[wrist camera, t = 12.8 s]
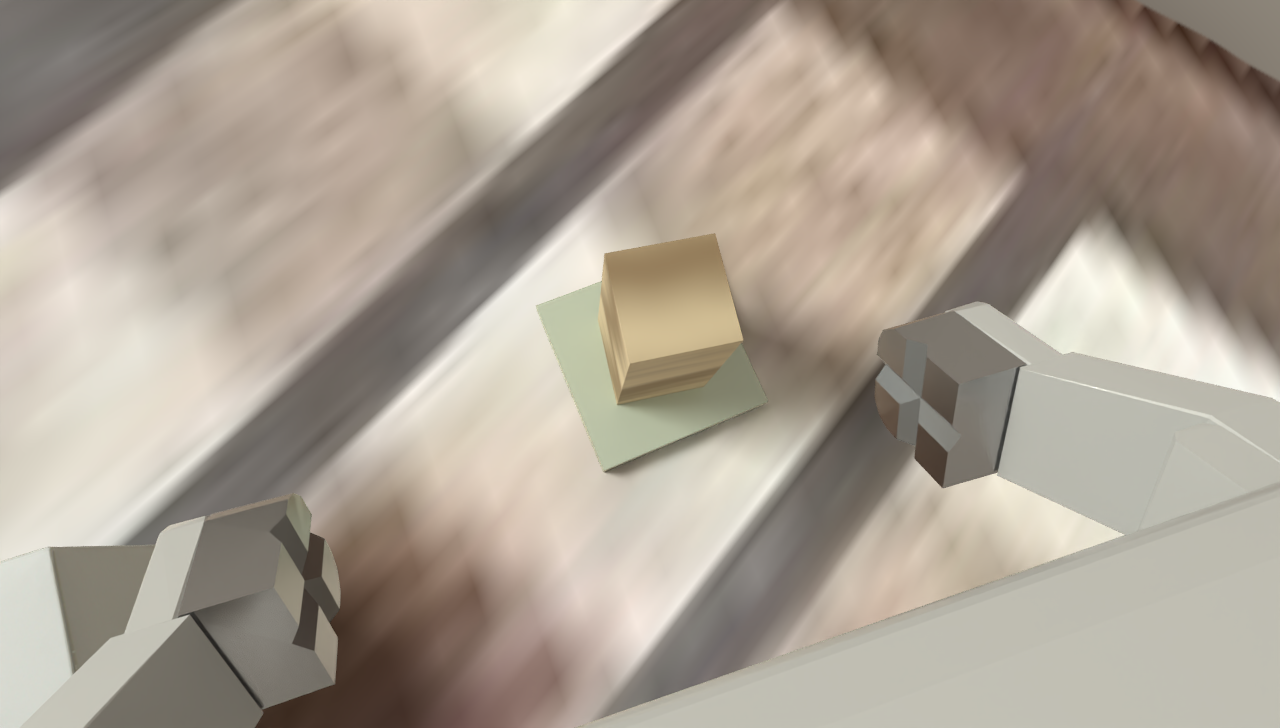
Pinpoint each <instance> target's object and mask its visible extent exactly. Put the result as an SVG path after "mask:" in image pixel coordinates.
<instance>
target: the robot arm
mask: <svg viewBox="0 0 1280 728" xmlns="http://www.w3.org/2000/svg"><path fill="white" fill-rule="evenodd" d="M877 355H878V356H879V357H880V358H881V359H882V361H883V362H884V363H885V364H886V365H885V366H884V368H883V369H882V371H881V372H880V373H879V375H878V376H877V378H876V379H875V401H876V405H877V408H878V412H879V415H880V417H881V419H882V421H883V423H884V424H885V426H886V428H887V429H888V430H889V431H890V432H891V433H892V435H893V436H894V437H895V438H896V439H898V440H901V441H903V442H906V443H909V444H912V445H915V459H916V461H917V462H918V463H919V464H920V465H921V466H922V467H923V468H924V469H925V470H926V471H927V472H928V473H929V474H930V475H931V476H932V477H933V479H934V480H935V481H936V482H937V483H938V484H939V485H940V486H941V487H942V488H946V487H949V486H953V485H956V484H960V483H963V482H966V481H970V480H973V479H977V478H980V477H984V476H987V475H990V474H994V473H997V472H998V474H997V476H1000V477H1002V478H1004V479H1006V480H1008V481H1010V482H1012V483H1015V484H1017V485H1019V486H1021V487H1023V488H1025V489H1028V490H1030V491H1032V492H1034V493H1036V494H1038V495H1040V496H1043V497H1045V498H1047V499H1049V500H1051V501H1053V502H1056V503H1058V504H1060V505H1062V506H1064V507H1066V508H1068V509H1071V510H1073V511H1075V512H1077V513H1079V514H1081V515H1083V516H1086V517H1088V518H1090V519H1092V520H1094V521H1096V522H1099V523H1101V524H1103V525H1105V526H1107V527H1109V528H1111V529H1114V530H1116V531H1118V532H1120V533H1122V534H1124V536H1121V537H1118V538H1116V539H1113V540H1110V541H1107V542H1104V543H1101V544H1098V545H1096V546H1093V547H1090V548H1087V549H1084V550H1081V551H1078V552H1076V553H1073V554H1070V555H1067V556H1064V557H1061V558H1058V559H1055V560H1053V561H1050V562H1047V563H1044V564H1041V565H1038V566H1035V567H1033V568H1030V569H1027V570H1024V571H1021V572H1018V573H1015V574H1013V575H1010V576H1007V577H1004V578H1001V579H998V580H996V581H993V582H990V583H987V584H984V585H981V586H978V587H976V588H973V589H970V590H967V591H964V592H961V593H958V594H956V595H953V596H950V597H947V598H944V599H941V600H938V601H936V602H933V603H930V604H927V605H924V606H921V607H919V608H916V609H913V610H910V611H907V612H904V613H901V614H899V615H896V616H893V617H890V618H887V619H884V620H881V621H879V622H876V623H873V624H870V625H867V626H864V627H861V628H859V629H856V630H853V631H850V632H847V633H844V634H842V635H839V636H836V637H833V638H830V639H827V640H824V641H822V642H819V643H816V644H813V645H810V646H807V647H804V648H801V649H799V650H796V651H793V652H790V653H787V654H784V655H781V656H779V657H776V658H773V659H770V660H767V661H764V662H761V663H759V664H756V665H753V666H750V667H747V668H744V669H741V670H739V671H736V672H733V673H730V674H727V675H724V676H721V677H719V678H716V679H713V680H710V681H707V682H704V683H701V684H699V685H696V686H693V687H690V688H687V689H684V690H681V691H679V692H676V693H673V694H670V695H667V696H664V697H661V698H659V699H656V700H653V701H650V702H647V703H644V704H641V705H639V706H636V707H633V708H630V709H627V710H624V711H621V712H619V713H616V714H613V715H610V716H607V717H604V718H601V719H598V720H596V721H593V722H590V723H587V724H584V725H581V726H578V727H576V728H1280V402H1278V401H1276V400H1274V399H1273V398H1269V397H1265V396H1261V395H1256V394H1252V393H1248V392H1243V391H1239V390H1235V389H1230V388H1226V387H1222V386H1217V385H1213V384H1209V383H1204V382H1200V381H1196V380H1191V379H1187V378H1183V377H1178V376H1174V375H1169V374H1165V373H1161V372H1156V371H1152V370H1148V369H1143V368H1139V367H1135V366H1130V365H1126V364H1122V363H1117V362H1113V361H1109V360H1104V359H1100V358H1096V357H1091V356H1087V355H1083V354H1078V353H1074V352H1071V353H1068V354H1064V355H1062V354H1061V353H1059V352H1058V351H1056V350H1055V349H1054V348H1052V347H1051V346H1049V345H1048V344H1046V343H1045V342H1043V341H1042V340H1040V339H1039V338H1037V337H1036V336H1034V335H1033V334H1031V333H1030V332H1029V331H1027V330H1026V329H1024V328H1023V327H1021V326H1020V325H1018V324H1017V323H1015V322H1014V321H1012V320H1011V319H1009V318H1008V317H1007V316H1005V315H1004V314H1002V313H1001V312H999V311H998V310H996V309H995V308H993V307H992V306H990V305H989V304H986V303H982V302H974V303H971V304H967V305H964V306H961V307H958V308H954V309H951V310H948V311H946V312H945V313H942V314H938V315H934V316H931V317H927V318H924V319H920V320H917V321H913V322H910V323H906V324H903V325H899V326H895V327H892V328H888V329H885V330H883V332H882V334H881V336H880V338H879V341H878V352H877ZM311 517H312V514H311V513H310V511H309V509H308V508H307V506H306V504H305V503H304V501H303V499H302V497H301V496H299V495H296V494H294V493H292V494H288V495H284V496H280V497H276V498H272V499H268V500H265V501H261V502H257V503H253V504H249V505H245V506H241V507H237V508H233V509H229V510H225V511H222V512H218V513H214V514H211V515H210V516H203V517H200V518H196V519H192V520H188V521H185V522H181V523H177V524H174V525H170V526H168V527H167V528H166V529H164V530H163V531H162V532H161V533H160V535H159V537H158V539H157V542H156V545H155V548H154V551H153V554H152V556H151V559H150V562H149V565H148V568H147V571H146V573H145V576H144V579H143V582H142V585H141V588H140V590H139V593H138V596H137V599H136V602H135V605H134V607H133V610H132V613H131V616H130V619H129V622H128V624H127V627H126V630H125V633H124V634H122V635H119V636H116V637H112V638H110V639H109V640H108V641H107V642H106V643H105V644H104V645H103V646H102V647H101V648H100V649H99V650H98V651H97V652H96V653H95V654H94V655H93V656H92V657H91V658H89V659H88V660H87V661H86V662H85V663H84V664H83V665H82V666H81V667H80V668H79V669H78V670H77V671H76V672H75V673H74V674H73V675H72V676H71V677H70V678H69V679H68V680H67V681H66V682H65V683H64V684H63V685H62V686H61V687H60V688H59V689H58V690H57V691H56V692H55V693H54V694H53V695H52V696H51V697H50V698H49V699H48V700H47V701H46V702H45V703H44V704H43V705H42V706H41V707H40V708H39V709H38V710H37V711H36V712H35V713H34V714H33V715H32V716H31V717H30V718H29V719H28V720H27V721H26V722H25V723H24V724H23V725H22V726H21V727H20V728H255V726H256V725H257V723H258V722H259V720H260V718H261V717H262V715H263V711H262V709H265V708H268V707H271V706H274V705H277V704H279V703H282V702H285V701H288V700H291V699H294V698H297V697H299V696H302V695H305V694H308V693H311V692H314V691H317V690H319V689H322V688H325V687H328V686H331V685H334V684H335V675H336V661H337V646H338V637H337V636H336V634H335V632H334V630H333V629H332V627H331V625H330V622H331V620H332V619H333V618H334V616H335V615H336V614H337V612H338V611H339V610H340V584H339V577H338V571H337V567H336V564H335V561H334V558H333V555H332V552H331V550H330V548H329V546H328V544H327V542H326V541H325V539H324V538H321V537H319V536H317V535H315V534H312V533H310V526H311Z"/></svg>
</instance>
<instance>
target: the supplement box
mask: <svg viewBox="0 0 1280 728" xmlns="http://www.w3.org/2000/svg"><path fill="white" fill-rule="evenodd" d="M154 548H155V545H130V546H82V547H46V548H43V549H39V550H36V551H32V552H29V553H26V554H23V555H19V556H16V557H13V558H10V559H7V560H4V561H1V562H0V728H20V727H21V726H22V725H23V724H24V723H25V722H26V721H27V720H28V719H29V718H30V717H31V716H32V715H33V714H34V713H35V712H36V711H37V710H38V709H39V708H40V707H41V706H42V705H43V704H44V703H45V702H46V701H47V700H48V699H49V698H50V697H51V696H52V695H53V694H54V693H55V692H56V691H57V690H58V689H59V688H60V687H61V686H62V685H63V684H64V683H65V682H66V681H67V680H68V679H69V678H70V677H71V676H72V675H73V674H74V673H75V672H76V671H77V670H78V669H79V668H80V667H81V666H82V665H83V664H84V663H85V662H86V661H87V660H88V659H89V658H91V657H92V656H93V655H94V654H95V653H96V652H97V651H98V650H99V649H100V648H101V647H102V646H103V645H104V644H105V643H106V642H107V641H108V640H109V639H110V638H112V637H116V636H119V635H122V634H124V633H125V630H126V627H127V624H128V622H129V619H130V616H131V613H132V610H133V607H134V605H135V602H136V599H137V596H138V593H139V590H140V588H141V585H142V582H143V579H144V576H145V573H146V571H147V568H148V565H149V562H150V559H151V556H152V554H153V551H154Z"/></svg>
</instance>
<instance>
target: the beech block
mask: <svg viewBox="0 0 1280 728" xmlns="http://www.w3.org/2000/svg"><path fill="white" fill-rule="evenodd" d="M598 323H599V327H600V332H601V336H602V341H603V345H604V350H605V354H606V359H607V363H608V368H609V372H610V376H611V381H612V385H613V390H614V394H615V399H616V403H617V405H619V404H624V403H629V402H634V401H638V400H643V399H648V398H653V397H657V396H662V395H667V394H671V393H676V392H681V391H686V390H690V389H695V388H700V387H704V386H705V385H706V384H707V382H708V381H709V380H710V379H711V378H712V377H713V375H714V374H715V373H716V372H717V371H718V370H719V368H720V367H721V366H722V365H723V364H724V363H725V361H726V360H727V359H728V358H729V357H730V356H731V354H732V353H733V352H734V351H735V350H736V349H737V347H738V346H739V345H740V344H741V343H742V342H743V337H742V333H741V329H740V325H739V322H738V318H737V314H736V310H735V306H734V303H733V299H732V295H731V291H730V288H729V284H728V280H727V276H726V273H725V269H724V265H723V261H722V258H721V254H720V250H719V246H718V243H717V239H716V235H715V233H714V234H709V235H704V236H698V237H693V238H687V239H682V240H676V241H671V242H665V243H660V244H654V245H649V246H643V247H638V248H633V249H627V250H622V251H616V252H611V253H605V255H604V264H603V274H602V284H601V293H600V303H599V313H598Z"/></svg>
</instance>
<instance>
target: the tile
mask: <svg viewBox="0 0 1280 728" xmlns="http://www.w3.org/2000/svg"><path fill="white" fill-rule="evenodd" d="M601 284H602V281H601V282H598V283H595V284H593V285H590V286H587V287H585V288H582V289H579V290H577V291H574V292H571V293H569V294H566V295H563V296H561V297H558V298H555V299H553V300H550V301H547V302H545V303H542V304H539V305H537V306H536V308H537V312H538V315H539V317H540V320H541V322H542V324H543V327H544V329H545V332H546V334H547V337H548V339H549V341H550V344H551V346H552V349H553V351H554V354H555V356H556V358H557V361H558V363H559V366H560V368H561V371H562V373H563V375H564V378H565V380H566V383H567V385H568V388H569V390H570V392H571V395H572V397H573V400H574V402H575V405H576V407H577V409H578V412H579V414H580V417H581V419H582V422H583V424H584V426H585V429H586V431H587V434H588V436H589V439H590V441H591V443H592V446H593V448H594V451H595V453H596V456H597V458H598V460H599V463H600V465H601V468H602V470H603V472H605V471H607V470H609V469H612V468H614V467H617V466H619V465H621V464H624V463H626V462H628V461H631V460H633V459H636V458H638V457H640V456H643V455H645V454H647V453H650V452H652V451H655V450H657V449H659V448H662V447H664V446H666V445H669V444H671V443H674V442H676V441H678V440H681V439H683V438H685V437H688V436H690V435H693V434H695V433H697V432H700V431H702V430H704V429H707V428H709V427H712V426H714V425H716V424H719V423H721V422H723V421H726V420H728V419H731V418H733V417H735V416H738V415H740V414H742V413H745V412H747V411H750V410H752V409H754V408H757V407H759V406H761V405H764V404H765V403H767V402H768V399H767V397H766V395H765V393H764V391H763V388H762V386H761V384H760V382H759V380H758V378H757V376H756V373H755V371H754V369H753V367H752V365H751V363H750V360H749V358H748V356H747V354H746V352H745V350H744V347H743V345H742V343H741V344H740V345H739V346H738V347H737V349H736V350H735V351H734V352H733V353H732V354H731V356H730V357H729V358H728V359H727V360H726V361H725V363H724V364H723V365H722V366H721V367H720V368H719V370H718V371H717V372H716V373H715V374H714V375H713V377H712V378H711V379H710V380H709V381H708V382H707V384H706V385H705V386H704V387H700V388H695V389H690V390H686V391H681V392H676V393H671V394H667V395H662V396H657V397H653V398H648V399H643V400H638V401H634V402H629V403H624V404H619V405H617V403H616V399H615V394H614V390H613V385H612V381H611V376H610V372H609V368H608V363H607V359H606V354H605V350H604V345H603V341H602V336H601V332H600V327H599V323H598V313H599V303H600V293H601Z"/></svg>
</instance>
